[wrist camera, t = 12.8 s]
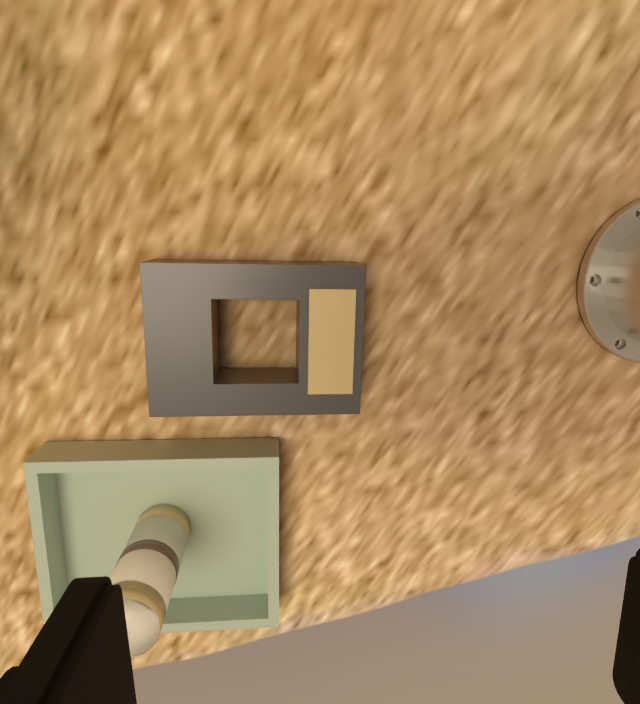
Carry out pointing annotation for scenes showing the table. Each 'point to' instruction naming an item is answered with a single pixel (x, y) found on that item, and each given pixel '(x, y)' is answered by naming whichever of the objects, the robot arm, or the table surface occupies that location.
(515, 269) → the table surface
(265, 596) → the parts tray
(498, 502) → the table surface
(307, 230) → the table surface
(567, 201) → the table surface
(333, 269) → the fuse block
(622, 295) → the robot arm
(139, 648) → the fuse
